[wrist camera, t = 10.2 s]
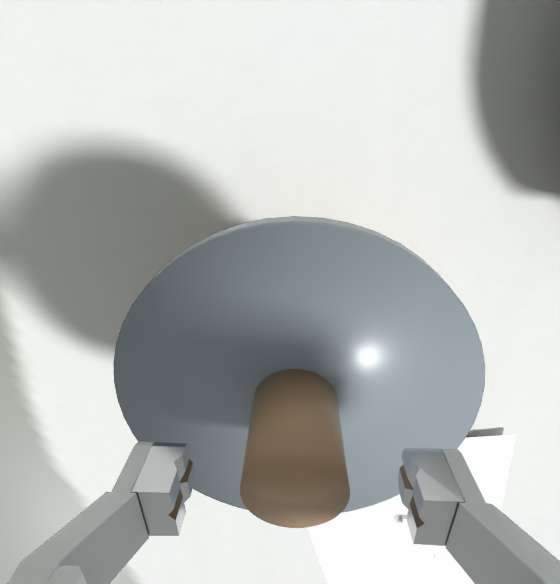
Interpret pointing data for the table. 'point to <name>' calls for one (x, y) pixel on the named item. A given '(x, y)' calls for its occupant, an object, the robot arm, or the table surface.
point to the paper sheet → (405, 530)
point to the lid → (299, 365)
